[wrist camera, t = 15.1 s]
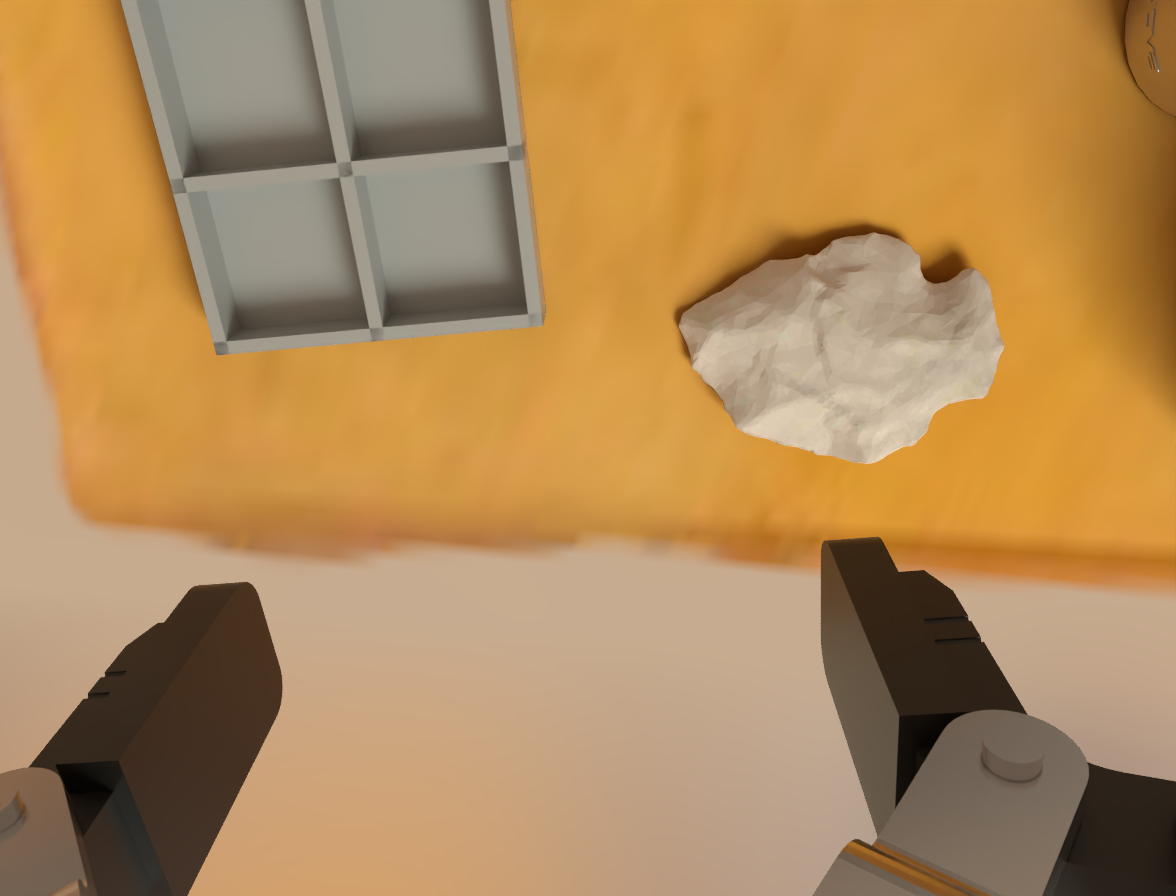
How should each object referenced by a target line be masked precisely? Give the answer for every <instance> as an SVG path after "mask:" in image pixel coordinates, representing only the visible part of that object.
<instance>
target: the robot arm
mask: <svg viewBox="0 0 1176 896" xmlns="http://www.w3.org/2000/svg"><path fill="white" fill-rule="evenodd" d="M1125 46H1126V52H1127V57H1128V63H1129V67H1130V69H1131V71H1132V73H1133V76H1134V78H1135V80H1136V82H1137V85H1138V86H1139V87H1140V89H1141V90H1142V91H1143V92H1144V94H1145V95H1146V96H1147V97H1148V99H1149V100H1150V101H1151V102H1152V103H1154V104H1155V105H1156V106H1158V107H1159V108H1160V109H1162V110H1163V111H1165V112H1166V113H1167V114H1170V115H1173V116H1175V117H1176V0H1129V4H1128V8H1127V13H1126V18H1125ZM821 645H822V655H823V663H824V668H825V673H826V677H827V681H828V685H829V688H830V691H831V694H832V697H833V700H834V703H835V706H836V709H837V712H838V715H839V719H840V721H841V725H842V728H843V730H844V734H845V737H846V740H847V743H848V746H849V749H850V753H851V756H852V759H853V762H854V765H855V768H856V771H857V774H858V777H859V780H860V783H861V786H862V790H863V792H864V796H865V799H866V802H867V805H868V808H869V811H870V814H871V817H872V820H873V823H874V826H875V830H876V832H877V836H878V838H877V840H876V841H875V842H874V844H873V845H872V846H871V845H869V844H867V843H865V842H863V841H861V840H859V839H855V840H852V841H851V842H849V843H848V844H847V845H846V846H845V847H844V848H843V850H842V851H841V852H840V854H839V855H838V857H837V858H836V860H835V861H834V863H833V864H832V866H831V868H830V869H829V871H828V872H827V874H826V875H825V877H824V878H823V880H822V882H821V883H820V885H819V886H818V888H817V889H816V891H815V892H814V894H813V896H1176V782H1175V781H1169V780H1163V779H1158V778H1152V777H1146V776H1141V775H1134V774H1129V773H1123V772H1118V771H1114V770H1110V769H1106V768H1103V767H1100V766H1096V765H1093V764H1091V763H1088V762H1087V761H1086V758H1085V756H1084V755H1083V753H1082V751H1081V750H1080V748H1079V747H1078V746H1077V745H1076V743H1075V742H1074V741H1073V740H1072V739H1070V738H1069V737H1068V736H1067V735H1066V734H1065V733H1063V732H1062V731H1060V730H1059V729H1057V728H1056V727H1054V726H1052V725H1050V724H1049V723H1047V722H1045V721H1042V720H1040V719H1037V718H1035V717H1033V716H1029V715H1027V713H1026V711H1025V710H1024V708H1023V706H1022V705H1021V703H1020V701H1019V700H1018V698H1017V696H1016V695H1015V693H1014V691H1013V690H1012V688H1011V687H1010V685H1009V683H1008V682H1007V680H1006V678H1005V676H1004V675H1003V673H1002V671H1001V670H1000V668H999V666H998V665H997V663H996V661H995V660H994V658H993V656H992V655H991V653H990V652H989V650H988V648H987V647H986V645H985V643H984V642H981V637H980V635H979V633H978V632H977V630H976V629H975V627H974V625H973V623H972V622H971V621H969V620H968V615H967V613H966V612H965V610H964V608H963V607H962V605H961V603H960V602H959V600H958V598H957V597H956V595H955V593H954V592H953V591H952V590H951V589H950V588H948V587H947V586H945V585H944V584H943V583H941V582H940V581H938V580H937V579H936V578H934V577H933V576H931V575H930V574H929V573H927V572H926V571H924V570H920V571H906V572H898V570H897V568H896V566H895V564H894V562H893V560H892V558H891V556H890V555H889V553H888V551H887V549H886V547H885V545H884V543H883V541H882V540H881V539H880V537H869V538H856V539H842V540H828V541H824V542H823V544H822V550H821ZM281 699H282V675H281V670H280V666H279V663H278V659H277V656H276V653H275V649H274V646H273V643H272V639H271V636H270V632H269V629H268V626H267V622H266V619H265V616H264V612H263V609H262V606H261V602H260V599H259V596H258V593H257V591H256V589H255V588H254V587H253V585H252V584H250V583H248V582H239V583H226V584H214V585H213V584H212V585H199V586H194V587H193V588H191V589H190V590H189V591H188V592H187V594H186V595H185V596H184V598H183V599H182V600H181V602H180V603H179V604H178V605H177V607H176V608H175V609H174V610H173V612H172V613H171V614H170V616H169V617H168V618H167V620H166V621H165V622H164V623H157V624H156V625H154V626H153V627H152V628H150V629H149V630H148V631H146V632H145V633H143V634H142V635H141V636H139V637H138V638H137V639H135V640H134V641H133V642H131V643H130V644H128V645H127V646H126V647H125V648H124V649H123V651H122V652H121V653H120V654H119V655H118V657H117V658H116V659H115V661H114V662H113V663H112V664H111V665H110V667H109V668H108V669H107V670H106V672H105V677H101V678H100V679H99V680H98V682H97V683H96V684H95V685H94V687H93V688H92V689H91V690H90V691H89V693H88V699H83V700H82V701H81V703H80V704H79V705H78V706H77V708H76V709H75V710H74V711H73V713H72V714H71V715H70V717H69V718H68V719H67V720H66V721H65V723H64V724H63V725H62V727H61V728H60V729H59V730H58V731H57V733H56V734H55V735H54V736H53V738H52V739H51V740H50V741H49V743H48V744H47V745H46V746H45V748H44V749H43V750H42V751H41V753H40V754H39V755H38V756H37V758H36V759H35V760H34V761H33V762H32V764H31V765H30V766H29V767H28V768H22V769H17V770H12V771H8V772H5V773H2V774H0V896H187V895H188V893H189V891H190V889H191V887H192V885H193V883H194V881H195V879H196V877H197V875H198V873H199V871H200V869H201V867H202V865H203V863H204V861H205V859H206V857H207V855H208V853H209V851H210V849H211V847H212V845H213V843H214V841H215V839H216V837H217V835H218V833H219V831H220V829H221V827H222V825H223V823H224V821H225V819H226V817H227V815H228V813H229V811H230V809H231V807H232V805H233V803H234V801H235V799H236V797H237V795H238V793H239V791H240V789H241V787H242V785H243V783H244V781H245V779H246V777H247V775H248V773H249V771H250V769H251V767H252V765H253V763H254V761H255V759H256V757H257V755H258V753H259V751H260V749H261V747H262V745H263V743H264V741H265V739H266V737H267V735H268V733H269V731H270V729H271V727H272V725H273V723H274V721H275V719H276V716H277V714H278V712H279V709H280V705H281Z"/></svg>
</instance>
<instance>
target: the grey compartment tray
mask: <svg viewBox="0 0 1176 896" xmlns="http://www.w3.org/2000/svg"><path fill="white" fill-rule="evenodd" d="M121 4H122V7H123V11H124V15H125V19H126V22H127V26H128V30H129V33H130V37H131V41H132V44H133V48H134V52H135V55H136V59H137V63H138V66H139V70H140V74H141V78H142V81H143V85H144V89H145V92H146V96H147V100H148V103H149V107H150V111H151V114H152V118H153V122H154V125H155V129H156V133H157V137H158V140H159V144H160V148H161V151H162V155H163V159H164V162H165V166H166V170H167V173H168V177H169V181H170V185H171V188H172V192H173V196H174V199H175V203H176V207H177V210H178V214H179V218H180V221H181V225H182V229H183V232H184V236H185V240H186V244H187V247H188V251H189V255H190V258H191V262H192V266H193V269H194V273H195V277H196V280H197V284H198V288H199V292H200V295H201V299H202V303H203V306H204V310H205V314H206V317H207V321H208V325H209V328H210V332H211V336H212V339H213V343H214V347H215V351H216V354H217V355H225V354H236V353H247V352H258V351H269V350H281V349H292V348H303V347H314V346H325V345H337V344H348V343H359V342H370V341H381V340H392V339H404V338H415V337H426V336H437V335H448V334H460V333H471V332H482V331H493V330H504V329H515V328H527V327H538V326H543V323H544V318H545V313H546V307H545V298H544V290H543V281H542V273H541V264H540V255H539V247H538V238H537V230H536V221H535V212H534V204H533V195H532V187H531V178H530V169H529V161H528V152H527V144H526V135H525V126H524V118H523V109H522V101H521V92H520V83H519V75H518V66H517V58H516V49H515V40H514V32H513V23H512V15H511V6H510V0H121Z"/></svg>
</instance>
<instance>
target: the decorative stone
mask: <svg viewBox="0 0 1176 896" xmlns="http://www.w3.org/2000/svg"><path fill="white" fill-rule="evenodd" d="M679 329H680V331H681V333H682V335H683V337H684V339H685V341H686V343H687V346H688V349H689V352H690V356H691V362H690V364H691V367H692V368H693V369H694V370H695V371H697V372H698V374H699V375H700V376H701V378H702V379H703V380H704V381H705V382H706V383H707V384H709V385H710V386H711V387H713V388H714V390H715V391H716V393H717V394H718V395H719V396H720V398H721V399H722V400H723V402H724V408H725V411H726V412H727V413H728V414H729V415H730V417H731V418H732V420H733V422H734V424H735V426H736V427H737V428H738V429H739V430H741V431H742V432H744V433H747V434H749V435H751V436H755V437H759V438H765V439H768V440H771V441H774V442H776V443H778V444H782V445H785V446H792V447H798V448H800V449H802V450H807V451H811V452H813V453H815V454H817V455H830V456H834V457H838V458H841V459H845V460H848V461H850V462H853V463H868V464H870V463H874V462H878V461H879V460H881V459H883V458H884V457H885V456H887V455H888V454H890V453H892V452H894V451H896V450H898V449H900V448H901V447H904V446H912V445H914V444H915V443H917V441H918V440H919V439H920V438H921V437H922V436H923V435H924V434H925V433H926V432H927V430H928V426H929V422H930V421H931V419H932V416H933V414H934V413H935V412H936V411H938V410H939V409H941V408H943V407H944V406H946V405H947V404H949V403H955V402H958V401H963V400H968V399H981V398H983V397H984V396H986V395H987V394H988V390H989V387H990V386H991V385H992V383H993V377H994V374H995V372H996V370H997V365H998V360H999V357H1000V355H1001V353H1002V351H1003V350H1004V343H1003V341H1002V339H1001V337H1000V332H999V329H998V326H997V324H996V315H995V311H994V308H993V302H992V295H991V290H990V286H989V283H988V281H987V280H986V279H985V278H984V277H983V276H982V275H981V274H980V273H979V271H978V270H976V269H974V268H967V269H964V270H962V271H961V272H960V273H959V274H958V275H957V276H956V277H954V278H953V279H951V280H949V281H947V282H942V283H937V284H934V283H931V282H929V281H927V280H926V279H925V278H924V277H923V274H922V272H921V270H920V256H919V254H917V253H916V252H915V251H914V250H913V248H912V247H911V246H910V245H908V244H906V243H905V242H903V241H902V240H901V239H898V238H894V237H892V236H889V235H885V234H877V233H876V232H873V233H870V234H867V235H859V236H848V237H843V238H839V239H836V240H833V241H831V244H830V245H829V246H827V247H826V248H824V249H823V250H822V251H820V252H819V253H818V254H817V255H809V254H806V255H804V256H802V257H799V258H794V259H787V260H769V261H767V262H764V263H763V264H761V265H760V266H759V267H758V268H756V269H755V270H753V271H751V272H749V273H748V274H746V275H744V276H742V277H740V278H739V279H738V280H737V281H735V282H734V283H733V284H732V285H730V286H729V287H727V288H725V289H723V290H722V291H721V292H718V293H715V294H713V295H711V296H710V297H708V298H706V299H704V300H702V301H701V302H699V303H696V304H695V305H694V306H692V307H691V308H690V309H688V310H687V311H685V312H684V313H683V315H682V317H681V320H680V323H679Z"/></svg>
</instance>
